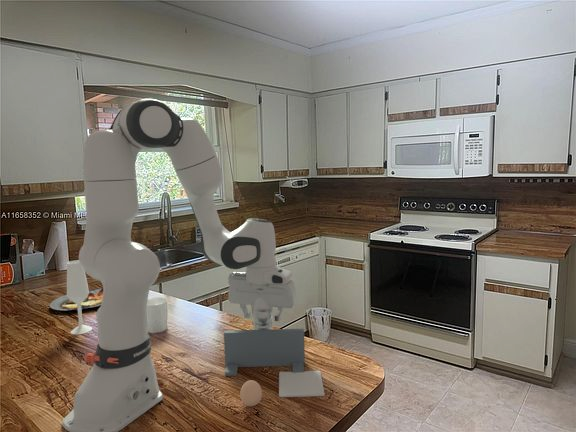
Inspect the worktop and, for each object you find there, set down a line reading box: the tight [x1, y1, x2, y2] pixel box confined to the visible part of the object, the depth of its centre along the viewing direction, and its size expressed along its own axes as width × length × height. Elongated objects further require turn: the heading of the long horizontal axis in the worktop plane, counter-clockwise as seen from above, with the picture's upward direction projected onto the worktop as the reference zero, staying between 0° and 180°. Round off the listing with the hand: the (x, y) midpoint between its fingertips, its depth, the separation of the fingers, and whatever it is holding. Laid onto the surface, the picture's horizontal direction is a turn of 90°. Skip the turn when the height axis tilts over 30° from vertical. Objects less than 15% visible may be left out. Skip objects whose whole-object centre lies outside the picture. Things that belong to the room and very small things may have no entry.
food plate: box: [49, 288, 103, 311], centre depth 166 cm, size 25×23×4 cm
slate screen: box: [223, 328, 306, 377], centre depth 110 cm, size 6×22×10 cm, turn 91°
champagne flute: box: [66, 259, 93, 335], centre depth 137 cm, size 7×7×24 cm
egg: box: [239, 379, 263, 407], centre depth 94 cm, size 5×5×6 cm
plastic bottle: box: [250, 289, 274, 330], centre depth 119 cm, size 6×7×20 cm
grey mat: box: [278, 370, 326, 398], centre depth 103 cm, size 11×11×1 cm
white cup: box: [147, 296, 169, 334], centre depth 138 cm, size 8×8×10 cm
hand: (262, 319), depth 119 cm, fingers open, 8 cm apart
